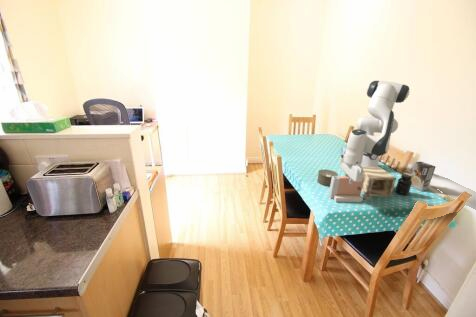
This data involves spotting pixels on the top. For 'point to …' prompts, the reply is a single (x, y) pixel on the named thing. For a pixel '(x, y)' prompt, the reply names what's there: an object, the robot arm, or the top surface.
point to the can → (325, 177)
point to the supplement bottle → (403, 185)
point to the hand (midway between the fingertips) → (348, 182)
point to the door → (344, 187)
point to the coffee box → (422, 175)
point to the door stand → (347, 198)
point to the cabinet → (377, 182)
